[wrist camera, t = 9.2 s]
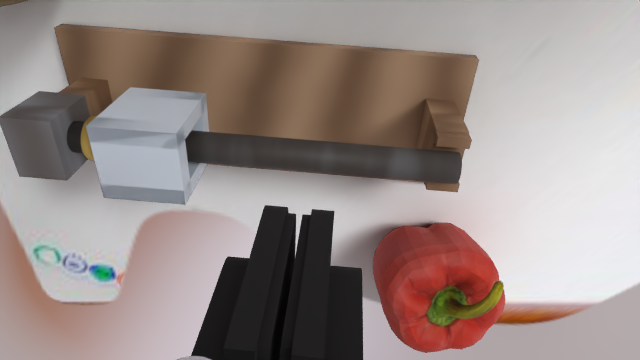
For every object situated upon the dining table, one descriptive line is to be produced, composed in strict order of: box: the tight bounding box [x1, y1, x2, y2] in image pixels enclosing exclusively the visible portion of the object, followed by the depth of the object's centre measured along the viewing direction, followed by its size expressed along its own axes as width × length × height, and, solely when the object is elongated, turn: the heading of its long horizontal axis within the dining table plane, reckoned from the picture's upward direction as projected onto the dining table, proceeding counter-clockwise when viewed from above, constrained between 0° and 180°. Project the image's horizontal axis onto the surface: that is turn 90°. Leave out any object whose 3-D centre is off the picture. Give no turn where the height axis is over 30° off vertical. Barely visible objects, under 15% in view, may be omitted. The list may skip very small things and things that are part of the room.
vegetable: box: [373, 223, 505, 353], centre depth 36 cm, size 11×10×10 cm
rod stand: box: [0, 24, 479, 192], centre depth 30 cm, size 29×10×9 cm, turn 87°
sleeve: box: [86, 87, 209, 205], centre depth 28 cm, size 5×5×6 cm
